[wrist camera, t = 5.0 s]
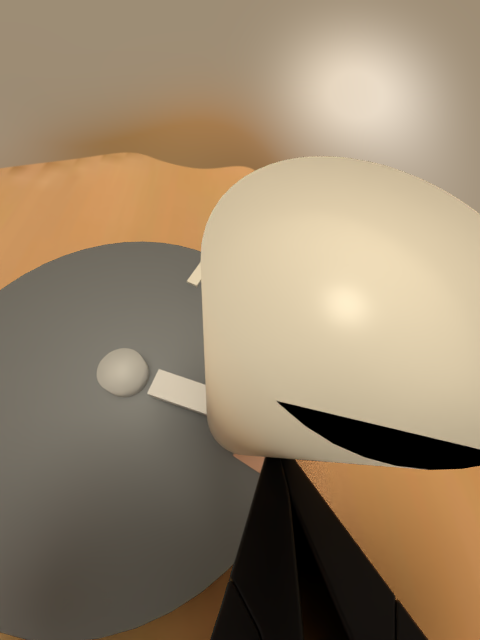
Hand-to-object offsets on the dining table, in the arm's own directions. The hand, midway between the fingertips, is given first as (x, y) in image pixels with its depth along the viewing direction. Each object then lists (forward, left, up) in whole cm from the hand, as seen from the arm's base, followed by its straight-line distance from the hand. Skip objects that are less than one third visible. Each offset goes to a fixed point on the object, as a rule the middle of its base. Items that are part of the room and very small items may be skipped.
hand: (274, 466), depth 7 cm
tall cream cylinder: (0, +3, -6) cm, 7 cm away
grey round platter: (-3, +7, -8) cm, 11 cm away
